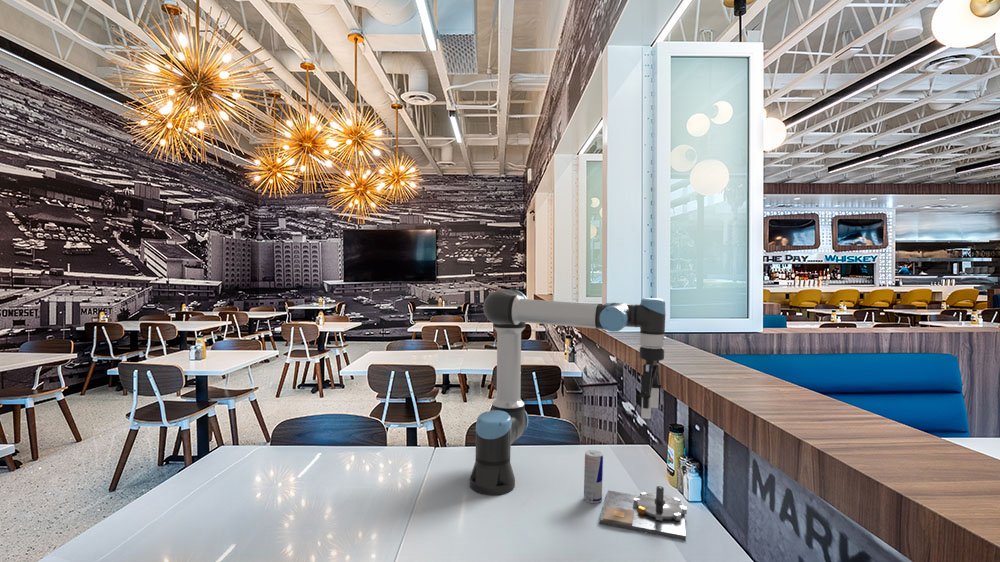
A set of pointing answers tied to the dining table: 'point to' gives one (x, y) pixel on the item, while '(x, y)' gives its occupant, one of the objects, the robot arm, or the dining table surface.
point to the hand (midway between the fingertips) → (650, 412)
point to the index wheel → (660, 505)
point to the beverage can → (593, 476)
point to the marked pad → (619, 515)
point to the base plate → (643, 518)
